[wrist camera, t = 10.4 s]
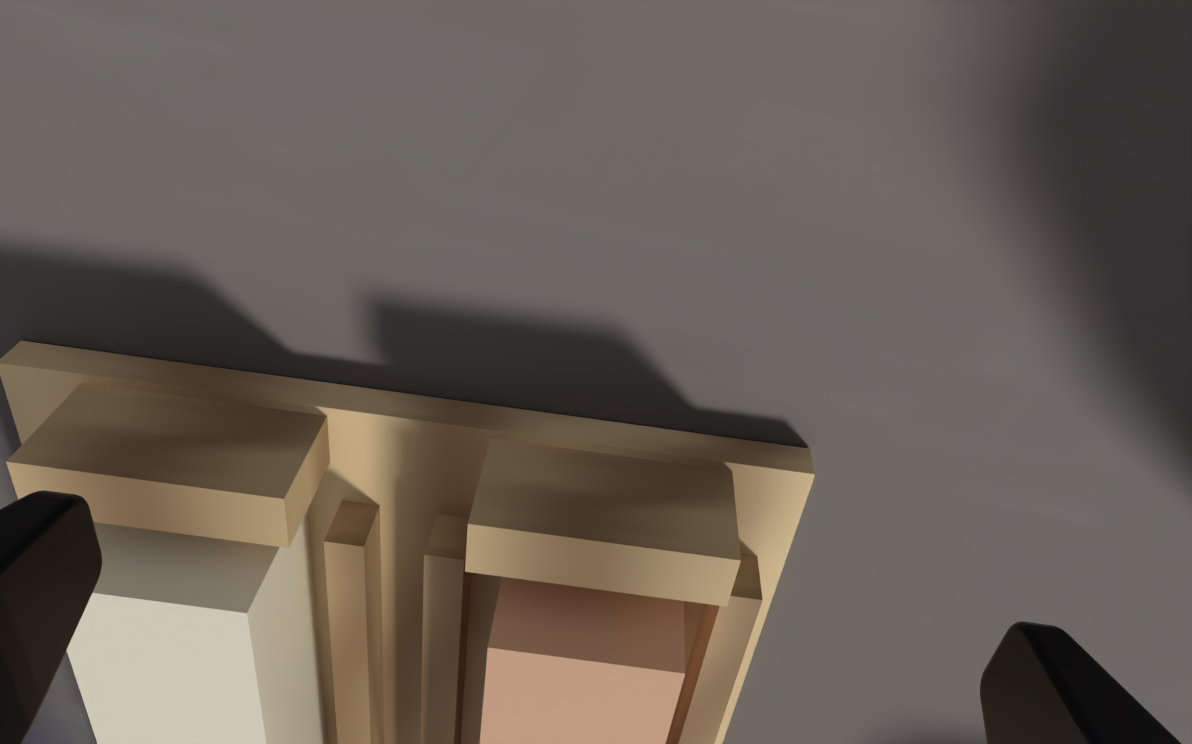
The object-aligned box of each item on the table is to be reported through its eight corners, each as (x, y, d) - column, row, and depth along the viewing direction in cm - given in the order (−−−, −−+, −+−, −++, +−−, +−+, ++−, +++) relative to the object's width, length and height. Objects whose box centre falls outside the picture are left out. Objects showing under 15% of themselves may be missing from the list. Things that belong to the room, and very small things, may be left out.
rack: (809, 448, 23) (834, 564, 19) (665, 880, 35) (665, 995, 32) (21, 340, 22) (-91, 440, 19) (156, 814, 35) (103, 925, 31)
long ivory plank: (306, 493, 23) (246, 613, 20) (333, 821, 32) (296, 941, 29) (134, 470, 23) (45, 586, 20) (209, 805, 32) (157, 924, 29)
